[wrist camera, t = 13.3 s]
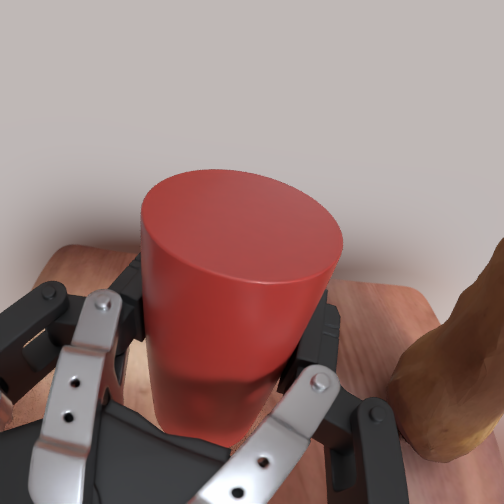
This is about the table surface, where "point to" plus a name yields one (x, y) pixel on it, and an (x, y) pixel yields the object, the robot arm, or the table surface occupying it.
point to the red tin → (227, 294)
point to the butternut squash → (455, 373)
